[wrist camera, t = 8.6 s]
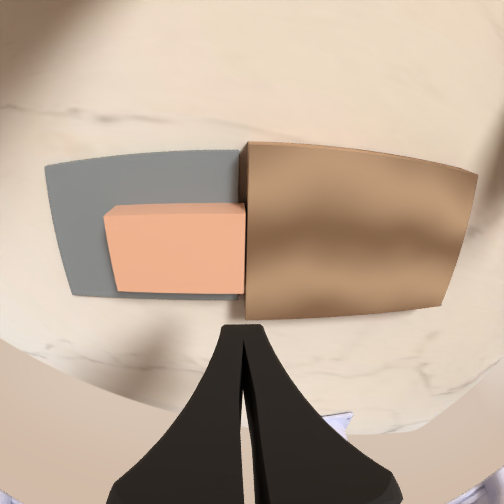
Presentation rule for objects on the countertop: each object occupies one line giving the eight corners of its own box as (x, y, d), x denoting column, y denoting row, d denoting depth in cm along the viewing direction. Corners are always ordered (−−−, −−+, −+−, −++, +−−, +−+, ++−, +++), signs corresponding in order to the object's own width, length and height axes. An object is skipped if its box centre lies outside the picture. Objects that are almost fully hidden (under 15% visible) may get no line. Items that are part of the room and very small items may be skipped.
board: (428, 292, 22) (440, 305, 20) (244, 302, 21) (245, 320, 19) (461, 168, 17) (478, 174, 15) (247, 141, 16) (249, 144, 14)
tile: (244, 202, 17) (245, 214, 15) (242, 276, 19) (243, 293, 17) (115, 205, 16) (103, 216, 15) (127, 275, 19) (117, 291, 17)
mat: (237, 296, 20) (237, 299, 20) (74, 291, 19) (72, 294, 19) (238, 149, 16) (239, 150, 15) (47, 165, 15) (44, 166, 15)
